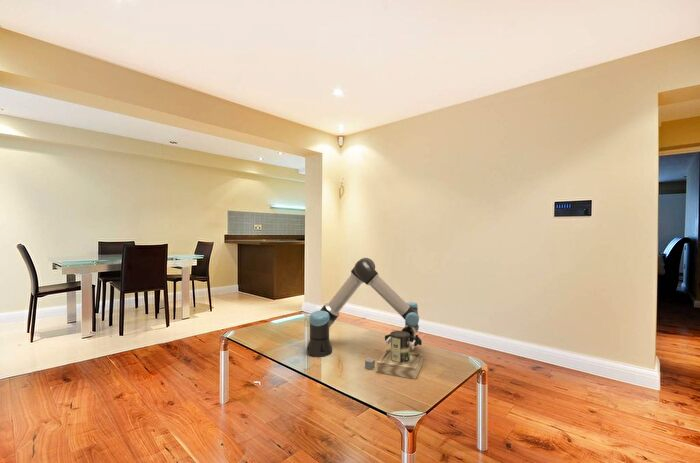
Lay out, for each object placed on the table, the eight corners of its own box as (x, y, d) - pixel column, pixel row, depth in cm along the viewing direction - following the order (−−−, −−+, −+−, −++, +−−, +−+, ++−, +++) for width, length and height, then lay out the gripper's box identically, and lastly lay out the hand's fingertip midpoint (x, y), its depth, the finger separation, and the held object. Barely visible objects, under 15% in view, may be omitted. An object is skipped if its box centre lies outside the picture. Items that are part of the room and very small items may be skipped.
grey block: (365, 368, 166) (365, 361, 166) (367, 365, 170) (367, 358, 170) (372, 369, 165) (372, 362, 165) (374, 366, 168) (374, 359, 168)
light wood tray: (376, 372, 162) (376, 362, 162) (387, 357, 180) (387, 348, 180) (415, 379, 154) (415, 368, 154) (422, 363, 173) (422, 353, 173)
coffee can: (410, 357, 171) (410, 331, 171) (409, 364, 161) (409, 337, 161) (391, 355, 173) (391, 329, 173) (389, 363, 163) (389, 335, 163)
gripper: (429, 342, 180) (423, 355, 160) (387, 336, 189) (376, 348, 170) (429, 329, 180) (423, 340, 160) (387, 324, 189) (376, 334, 170)
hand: (399, 344), depth 165 cm, fingers open, 13 cm apart
